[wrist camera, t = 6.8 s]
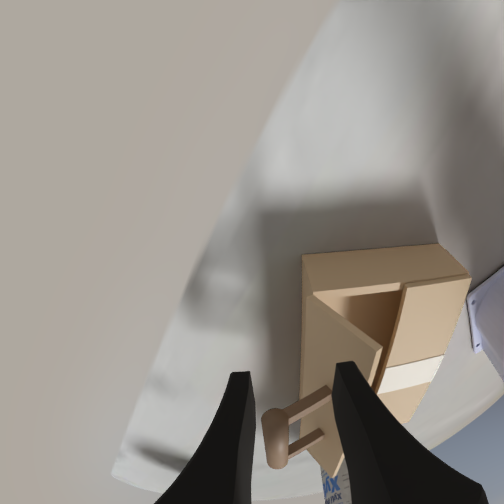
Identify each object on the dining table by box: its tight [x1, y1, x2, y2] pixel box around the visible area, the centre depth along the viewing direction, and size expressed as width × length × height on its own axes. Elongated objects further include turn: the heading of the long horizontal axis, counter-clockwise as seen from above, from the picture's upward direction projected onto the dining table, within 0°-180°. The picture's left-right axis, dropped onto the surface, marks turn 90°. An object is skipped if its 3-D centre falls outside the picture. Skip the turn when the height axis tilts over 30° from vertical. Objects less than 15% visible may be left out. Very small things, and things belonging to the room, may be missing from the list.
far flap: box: [261, 294, 383, 478], centre depth 16 cm, size 5×16×5 cm
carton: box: [299, 243, 472, 424], centre depth 20 cm, size 10×16×4 cm, turn 5°
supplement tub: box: [320, 457, 352, 504], centre depth 24 cm, size 10×10×15 cm
